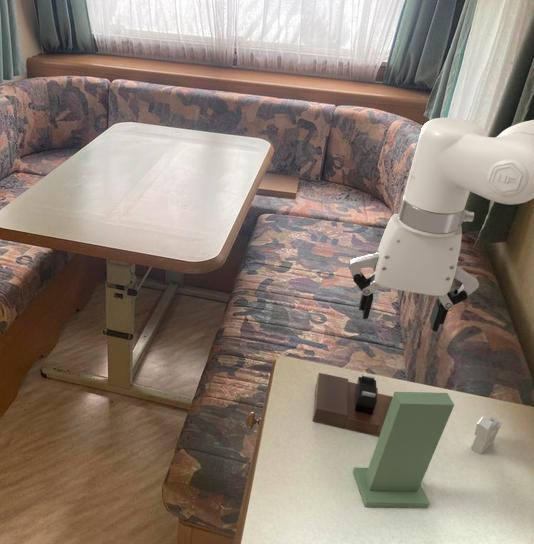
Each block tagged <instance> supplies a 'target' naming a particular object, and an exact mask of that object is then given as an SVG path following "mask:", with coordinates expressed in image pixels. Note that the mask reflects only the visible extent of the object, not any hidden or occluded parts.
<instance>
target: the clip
mask: <svg viewBox="0 0 534 544" xmlns="http://www.w3.org/2000/svg"><path fill="white" fill-rule="evenodd" d="M356 383H357V384H356V388H355V411H357V412H361V413H366V414H370V415H373V412H374V408H375V405H376V402H377V390H376V388H377V380H376V377H375V376H370V375H365V374H361V376H358V378H357V381H356Z"/></svg>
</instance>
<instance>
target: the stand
mask: <svg viewBox="0 0 534 544" xmlns="http://www.w3.org/2000/svg"><path fill="white" fill-rule="evenodd" d="M392 397H393V398H392V401H391V404H390V407H389V410H388V412H387V415H386V418H385V421H384V424H383V427H382V430H381V433H380V436H379V437H378V438H377V441H376V444H375V448H374V450H373V453H372V456H371V459H370V462H369V465H368V467H359V466H357V467H353V470H352V473H353V477H354V480H355V482H356V485H357V488H358V491H359V494H360V496H361V500H362V502H363V505H364V507H365V508H411V509H412V508H414V509H415V508H416V509H417V508H418V509H422V508H423V509H428V508H429V506H430V504H431V503H430V501H429V499H428V497H427V494H426V491H425V490H424V488H423V486H422V482H423V480H424V478H425V475H426V473H427V470H428V468H429V465H430V464H431V461H432V459H433V456H434V454H435V452H436V449H437V447H438V444H439V442H440V440H441V438H442V436H443V434H444V431H445V428H446V426H447V424H448V421H449V419H450V416H451V415H452V412H453V409H454V408H455V407H454V406H455V404H454V402H453V400H452V399H451V397H450V395H449V393H448V392H429V391H428V392H427V391H426V392H425V391H394V392H393V396H392Z"/></svg>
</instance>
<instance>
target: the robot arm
mask: <svg viewBox="0 0 534 544" xmlns="http://www.w3.org/2000/svg"><path fill="white" fill-rule="evenodd" d="M470 193H472V194H473V193H474V194H475V195H477V196H479V197H482V198H484V199H486V200H489V201H491V202H495V203H498V204H502V205H520V204H523V203H527V202H529V201H531V200H533V199H534V119H531V120H525V121H523V122H519V123H516V124H513V125H511V126H509V127H507V128H506V129H504V130H503V131H501V132H500V133H499V134H498V135H497V136H495V137H493V136H492V137H491V136H487V132H486V130H485V129H484V128H483V126H481V125H480V124H479V123H476V122H474V121H470V120H466V119H462V118H457V117H437V118H432V119H430V120H428V121H427V122H426V123H424V125H423V126H422V128H421V131H420V133H419V136H418V140H417V144H416V147H415V151H414V155H413V159H412V163H411V167H410V171H409V174H408V178H407V181H406V185H405V188H404V192H403V197H402V200H401V203H400V207H399V212H398V213H394V214H392V215H391V217H390V219H389V221H388V222H387V224H386V227H385V229H384V232H383V234H382V237H381V240H380V242H379V246H378V249H377V252H375V253H371V254H367V255H363V256H359V257H356V258H352V259H349V261H348V269H349V272H350V274H351V276H352V279H353V280H352V281H353V282H354V283H355V285H356V286H357V288H358V289H359V290H360V291H361V295H360V298H359V303H358V310H359V311H362V319H363V320H367V319H369V316H370V313H371V308H372V305H373V302H374V293H375V292H376V291H378V290H380V289H381V288H384V289H390V290H396V291H401V292H407V293H414V294H418V295H419V294H420V295H426V296H433V297H434V296H435V297H437V298H436V299H435V301H434V304H433V307H432V310H431V313H430V316H429V323H430V324H429V325H430V328H431V331H432V332H436V333H437V332H438V331H439V328H440V325H444V324H445V321H446V319H447V315H448V312H449V310H451V309H453V308H454V306H455V305H458V304H459V303H461V302H464V301H465V300H467V299H468V296H470V295H472V294H473V293H474V292H475V291H476V290H477V289H479V287H480V283H479V281H478V278H476V277H475V276H473V275H471V273H469V272H467V271H466V270H464V269H463V268H461V267H460V266H458V263H459V262H458V261H459V257H460V254H461V253H460V252H461V247H462V238H463V230H462V229H463V228H462V225H463V223H467V222H468V223H473V221H474V219H475V212H474V211H469V210H468V209H466V205H467V202H468V200H469V199H468V198H469V196H470ZM369 267H370V268H371V267H373V269H372V270H373V273H372V274H370V275H368V276H367V277H366V276H365V275H364V273H363V272H362V271H361V270H362V269H366V268H369ZM454 279H455V280H457V281H459V282H460V283H461V284H462V285H461V286H459V287H457V288H455V289H453V290H451V288H452V285H453V283H454Z"/></svg>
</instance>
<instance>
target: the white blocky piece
mask: <svg viewBox="0 0 534 544" xmlns="http://www.w3.org/2000/svg"><path fill="white" fill-rule="evenodd" d="M502 425H503V423H502V422H501V421H499V420H498V419H497V418H494V417H492V416H490V417H489V418H488V419H487V418H485V417H484V416H482V417H480V419H479V420H478V421H477V423H476V427H475V431H474V436H475V437H474V439H473V441H472V444H471V446H470V449H471V450H473V451H474V452H475V453H478V454H479V455H482V454H484V453H485V451H487V449H488V448H490V446H491V445H492V444H493V443H494V440H495V438H496V437H497V434H498V432H499V430H500V428H501V426H502Z"/></svg>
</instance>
